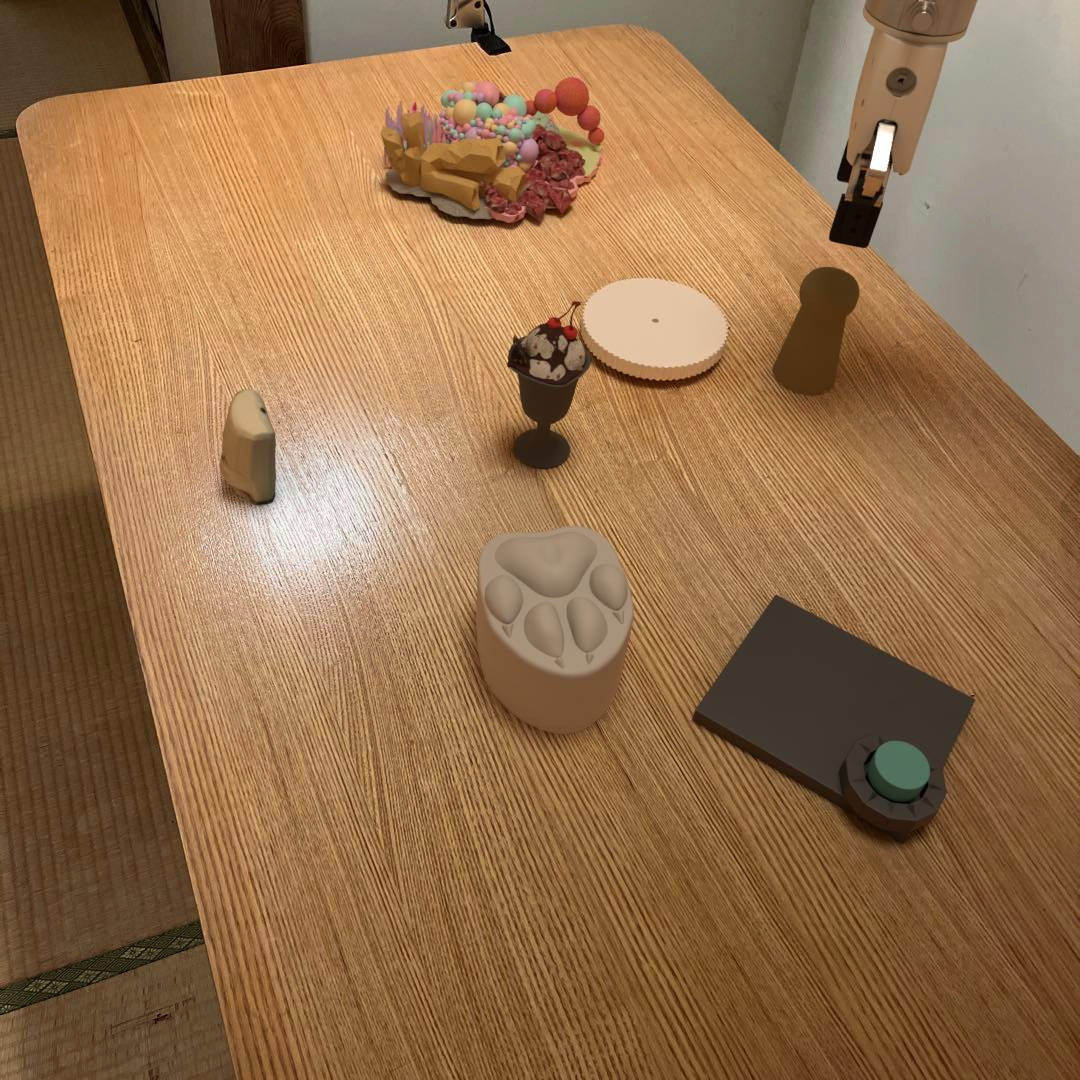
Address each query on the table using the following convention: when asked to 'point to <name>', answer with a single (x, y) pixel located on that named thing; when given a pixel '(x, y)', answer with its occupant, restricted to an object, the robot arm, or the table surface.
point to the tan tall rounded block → (249, 448)
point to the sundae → (547, 387)
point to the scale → (833, 713)
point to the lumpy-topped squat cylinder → (553, 625)
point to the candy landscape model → (495, 151)
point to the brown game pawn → (817, 332)
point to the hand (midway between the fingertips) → (851, 211)
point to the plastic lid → (654, 329)
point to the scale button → (898, 771)
